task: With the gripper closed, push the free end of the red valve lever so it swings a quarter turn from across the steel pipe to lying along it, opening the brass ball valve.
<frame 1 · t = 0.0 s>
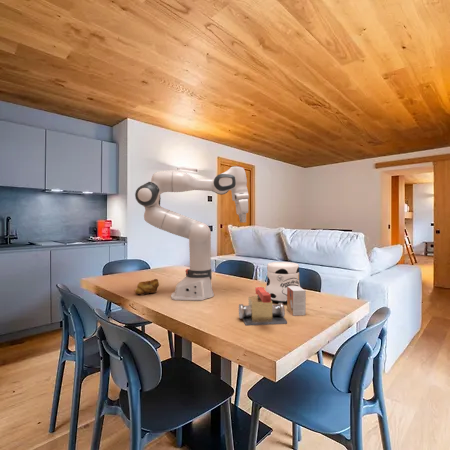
hand: (243, 222, 150), 39 cm above the table, tool pointing down, fingers open, 8 cm apart
milk container: (283, 300, 139), on the table
small box: (296, 313, 120), on the table
lever: (262, 294, 107), point 11 cm above the table, hinge at 0.0°
valve: (260, 318, 112), on the table
bread roll: (146, 293, 154), on the table
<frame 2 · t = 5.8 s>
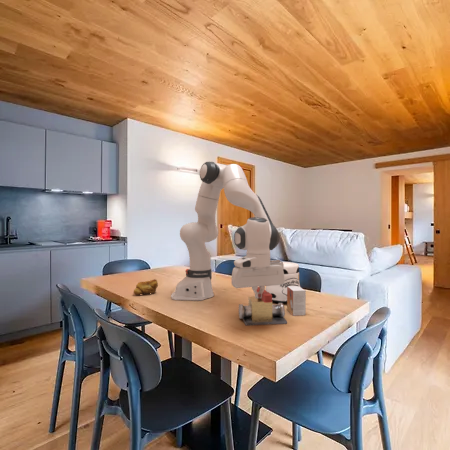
hand: (258, 298, 104), 11 cm above the table, tool pointing down, fingers closed
lever: (263, 294, 107), point 11 cm above the table, hinge at 2.1°, touching gripper
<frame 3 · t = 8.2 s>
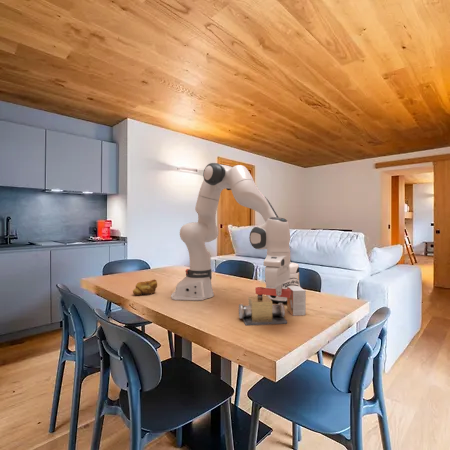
hand: (279, 295, 107), 11 cm above the table, tool pointing down, fingers closed, pressing on lever
lever: (272, 291, 110), point 11 cm above the table, hinge at 62.6°, touching gripper
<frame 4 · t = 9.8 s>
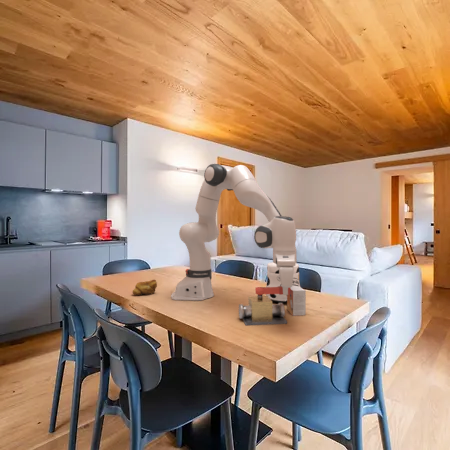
hand: (285, 294, 107), 11 cm above the table, tool pointing down, fingers closed
lever: (272, 290, 112), point 11 cm above the table, hinge at 87.5°
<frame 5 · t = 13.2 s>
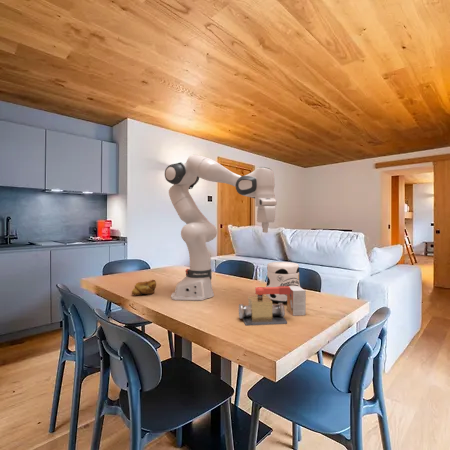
hand: (265, 232, 128), 34 cm above the table, tool pointing down, fingers closed
at the end: lever at +88° (first picture: +0°) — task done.
